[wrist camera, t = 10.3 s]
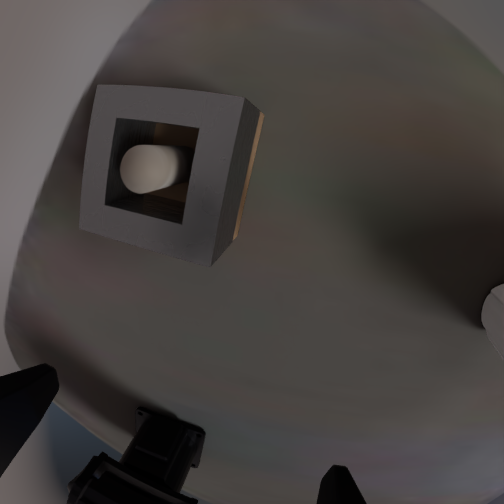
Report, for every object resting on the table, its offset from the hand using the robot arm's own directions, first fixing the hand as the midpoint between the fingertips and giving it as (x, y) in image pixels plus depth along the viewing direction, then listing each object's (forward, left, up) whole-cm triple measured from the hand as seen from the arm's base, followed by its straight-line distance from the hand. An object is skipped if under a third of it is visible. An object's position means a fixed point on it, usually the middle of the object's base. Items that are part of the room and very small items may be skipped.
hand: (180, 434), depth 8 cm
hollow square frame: (+6, +5, -10) cm, 13 cm away
